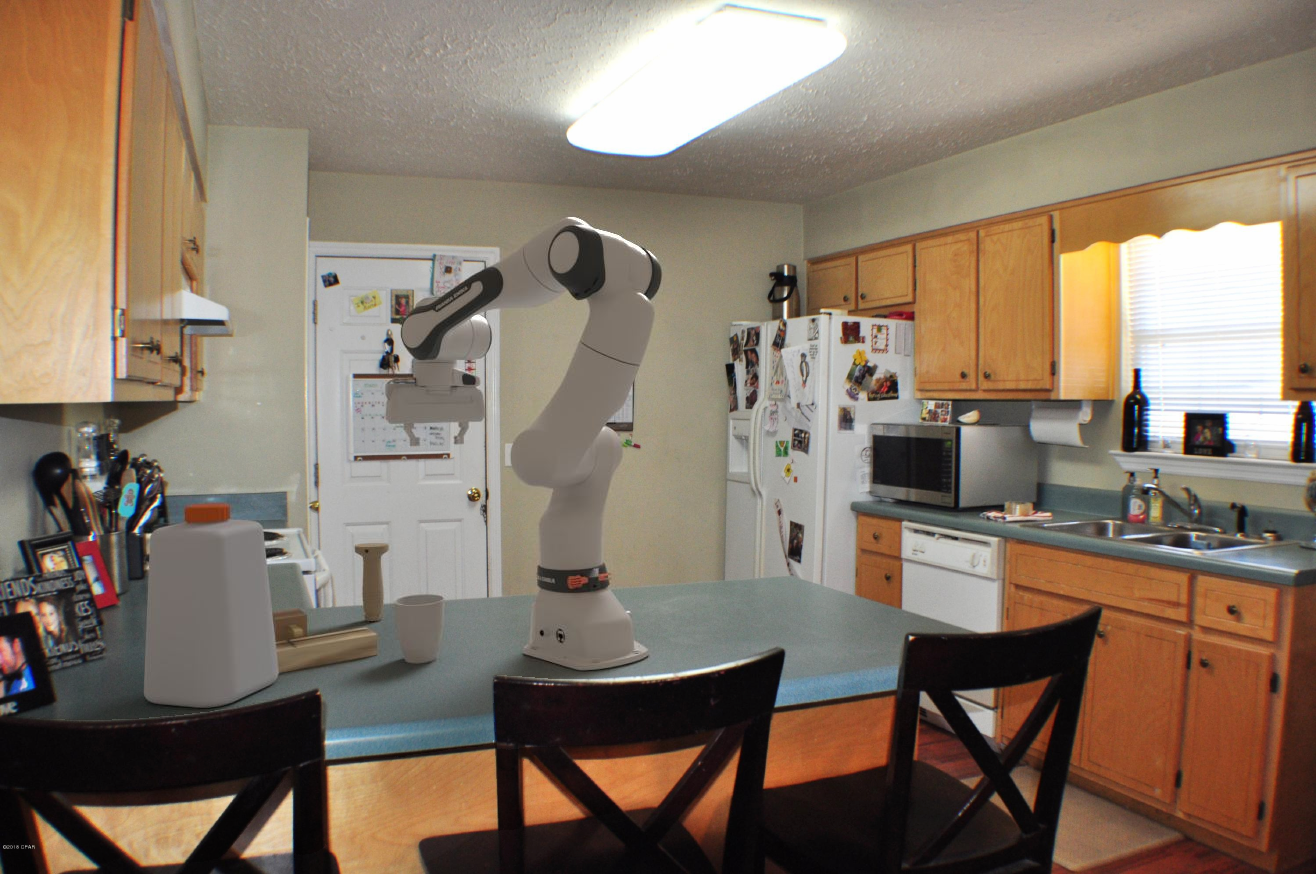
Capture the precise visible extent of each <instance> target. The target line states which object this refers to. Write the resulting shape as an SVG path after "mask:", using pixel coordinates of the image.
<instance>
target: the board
mask: <svg viewBox="0 0 1316 874" xmlns="http://www.w3.org/2000/svg"><path fill="white" fill-rule="evenodd" d="M275 643H276V652H277V661H278V670H279V674H281V673H286V672H292V671H298V670H303V669H308V668H309V669H310V668H314V667H318V666H324V665H325V666H326V665H330V664H335V663H341V662H346V661H351V660H355V659H356V660H357V659H361V658H362V659H363V658H367V657H373V656H377V655H379V653H378V634H377V633H376V632H374V631H373V630H371V629H370V628H368V627H366V626H365V627H360V628H358V627H357V628H353V629H346V630H340V631H335V632H328V633H323V634H317V635H310V636H308V637H304V638H298V639H292V640H286V641H279V642H275Z"/></svg>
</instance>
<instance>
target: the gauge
mask: <svg viewBox="0 0 1316 874" xmlns="http://www.w3.org/2000/svg"><path fill="white" fill-rule="evenodd" d="M272 615H273V625H274V634H275V642H279V641H286V640H292V639H298V638H304V637H309V636H308V614H307V613H305V612H304V611H303V610H301V609H300V608H298V607H297V608H292V609H283V610H278V611H272Z"/></svg>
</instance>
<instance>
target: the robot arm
mask: <svg viewBox="0 0 1316 874" xmlns="http://www.w3.org/2000/svg"><path fill="white" fill-rule="evenodd" d="M662 276H663V272H662V266H661V264H660V262H659V260H658V259H657V257H656V256H655V255H654V254H653V253H652V252H650V251H649V250H648V249H647V248H645V247H643V246H641V245H640V246H639V245H636V244H634V243H633V242H631V241H628V240H626V239H624V238H622V237H621V236H620V235H618V234H614V233H611V232H609V231H604V230H600V229H597V228H594V227H592V226H590V225H589V224H588V223H587V222H585V221H584V220H582V219H581V218H578V217H573V216H572V217H571V216H569V217H563V218H562V219H560V220H557V221H556V222H553V223H552V224H550V225H549V226H546V227H545V228H543V230H541V231H540V232H538V233H536V234H535V235H534V236H533V237H532V238H530V239H529V240H528V241H527V242H526V243H524V244H523V245H522V246H521V247H519V248H517V249H516V250H515V251H514V252H512V253H511V254H509V255H507V256H506V257H504V258H502V259H501V260H500V261H498V262H496V263H494V264H492V265H490V266H488V267H486V268H484V269H481V270H480V271H478V272H476V273H474V274H473V275H471V276H469V277H468V278H466V279H465V280H464V281H462V282H461V283H458V285H456V286H454V287H453V288H452V289H450V290H449V291H447V292H446V293H444V294H443V295H442V296H434V297H427V298H423V299H421V300H419V301H418V302H417V303H416V304H415V307H414V308H413V309H412V310H411V311H410V312H409V313H408V314H407V315H406V316H405V317H404V320H403V322H402V323H401V327H400V339H401V342H402V344H403V346H404V348H405V349H406V350H407V351H408V353H409V354H410V355H411V356H412V357H413V361H412V369H413V370H412V374H413V377H401V378H400V377H393V378H392V379H390V380H389V381H388V382H386V384H385V397H386V398H387V399H386V405H385V420H386V421H387V422H388V423H389V424H391V425H394V424H395V425H396V424H398V425H403V430H404V432H405V433H406V435H407V436H408V438H409V445H410V447H419V446H421V443H420V441H421V440H420V439H421V438H420V436H419V437H417V436H416V435H415V433H414V431H413V430H414V429H415V424H438V423H439V424H442V423H443V424H444V423H457V424H458V428H460V429H459V431H458V433H457V435H454V436H453V440H454V441H453V444H454V445H464V441H465V440H464V438H465V437H464V436H465V435H466V433H467V431H468V430H469V427H470V426H469V423H477V422H478V423H481V422H483V420H484V419H485V417H486V408H485V398H484V394H483V391H482V389H481V388H480V387H479V386H480V385H481V377H480V376H479V375H476V374H474V373H473V374H472V373H469V372H467V371H464V370H461V369H459V368H458V361H474V360H475V361H476V360H479V359H482V358H483V357H484V356H486V355H487V353H488V352H489V350H490V348H491V346H492V343H493V332H492V327H491V325H490V323H489V321H488V320H487V318H486V317H485V316H484V315H482V313H484V312H487V311H493V310H498V309H510V308H511V309H514V308H515V309H516V308H517V309H518V308H519V309H521V308H522V309H526V308H531V309H532V308H538V307H541V306H543V305H545V304H547V303H550V302H552V301H554V300H556V299H557V298H558V297H560V296H561V295H562V294H563V293H564V294H565V292H566V291H568V293H569V294H570V295H571V297H572V298H573V299H575V300H576V301H583V300H585V299H586V301H587V303H588V306H589V307H588V308H589V314H588V319H587V322H586V325H585V327H584V329H583V332H582V334H581V336H580V339H579V340H578V343H577V346H576V348H575V351H574V353H573V357H572V358H571V361H570V363H569V365H568V368H567V370H566V373H565V375H564V377H563V380H562V382H561V383H560V385H559V387H558V389H557V390H556V392H555V393H554V394H553V396H552V397H551V399H550V400H549V401H548V403H547V405H546V406H545V407H544V409H543V410H542V412H541V413H540V414H539V415H538V416H537V418H536V419H535V420H534V421H533V422H532V423H531V425H529V426H528V427H526V429H524V430H523V431H522V432H520V433H519V434H518V435H517V436H516V437H515V438H514V441H513V442H512V444H511V448H510V454H509V456H510V458H509V459H510V464H511V468H512V470H513V472H514V474H515V476H516V478H518V479H519V480H520V481H521V482H522V483H523V484H526V485H528V486H531V487H536V488H541V489H550V490H552V492H551V497H550V500H549V502H548V505H547V507H546V509H545V510H544V512H543V513H542V515H541V517H540V519H539V523H538V547H539V549H538V551H539V552H538V553H539V564H538V565H537V567H536V568H537V571H536V580H537V583H536V584H537V585H536V586H537V587H538V589H539V590H538V592H537V595H536V597H535V599H534V600H533V601H532V603H531V609H530V611H531V612H530V625H529V628H530V630H529V643H527V644H526V645H525V646H523V654H524V655H526V656H530V657H533V658H536V659H540V660H543V661H547V662H551V663H553V664H557V665H560V666H563V667H565V668H566V667H567V668H570V669H573V670H577V671H589V670H590V671H591V670H592V671H593V670H601V669H608V668H614V667H618V666H622V665H623V666H624V665H626V664H630V663H634V662H637V661H640V660H643V659H645V658H647V657H648V656H649V655H650V653H649V649H648V648H647V647H645V646H644V645H643V644H641V643H639V642H638V641H636V640H635V636H634V635H635V634H634V633H635V632H634V625H633V615H632V612H631V611H630V610H625V608H624V607H623V605H622V604H621V603H620V601H619V600H618V598H617V597H616V596H615V594H614V593H613V591H612V590H611V588H610V584H611V583H610V580H611V579H612V577H609V576H610V575H612V573H611V572H608V570H607V566H606V563H605V562H604V537H603V536H604V532H603V531H604V530H603V529H604V517H605V515H604V514H605V510H606V504H607V500H608V499H607V498H608V495H609V490H610V487H611V482H612V479H613V476H614V474H615V472H616V470H617V469H618V468H619V467H620V464H621V463H622V459H623V453H624V449H623V444H622V441H621V438H620V436H619V435H618V434H617V433H616V431H615V430H614V429H612V428H610V427H609V426H606V425H607V423H608V422H609V421H610V420H611V419H612V417H614V416H615V415H616V413H618V412H619V411H620V410H621V409H622V408H623V406H624V405H625V403H626V401H627V398H628V396H629V393H630V391H631V389H632V386H633V384H634V381H635V379H636V377H637V375H638V372H639V369H640V367H641V364H642V362H643V359H644V357H645V354H646V350H647V348H648V345H649V343H650V341H649V340H650V338H651V335H652V330H653V328H654V327H653V326H654V321H655V314H656V313H655V312H656V310H655V307H654V305H653V303H652V302H651V300H652V299H654V298H655V296H656V295H657V294H658V291H659V289H660V287H661V283H662Z"/></svg>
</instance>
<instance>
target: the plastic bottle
mask: <svg viewBox="0 0 1316 874" xmlns="http://www.w3.org/2000/svg"><path fill="white" fill-rule="evenodd" d="M183 510H184V513H183V514H184V516H183V517H184V522H181V523H175V524H171V525H168V526H167V525H166V526H163V527H159V528H157V529H155V530H153V532H152V533H151V534H150V536H149V553H148V554H149V558H148V577H147V580H148V581H147V605H146V608H147V609H146V629H145V654H144V679H143V680H144V681H143V695H144V697H145V700H147V701H148V702H150V703H152V704H157V705H165V706H175V707H177V706H178V707H185V708H186V707H188V708H197V709H198V708H200V709H209V708H215V707H216V708H217V707H222V706H225V705H229V704H232V703H235V702H236V701H239V700H241V699H243V698H245V697H247V696H249V695H251V694H252V695H253V693H256V692H258V691H260V690H262V689H265V688H267V687H269V686H270V685H272V684H273V683H274V682H275V681H276V680H277V679H278V677H279V674H280V673H279V670H278V661H277V652H276V643H275V634H274V625H273V615H272V612H273V607H272V598H271V591H270V580H269V571H268V562H267V553H266V545H265V544H266V543H265V534H264V527H263V525H262V524H261V523H260V522H258V521H254V520H245V519H244V520H243V519H231V506H230V505H229V504H228V503H224V502H222V503H221V502H212V503H211V502H210V503H208V502H207V503H196V504H191V505H187V506H186V507H185V508H184V509H183Z"/></svg>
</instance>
